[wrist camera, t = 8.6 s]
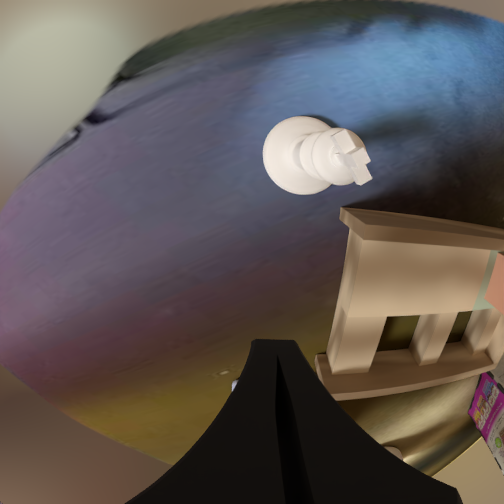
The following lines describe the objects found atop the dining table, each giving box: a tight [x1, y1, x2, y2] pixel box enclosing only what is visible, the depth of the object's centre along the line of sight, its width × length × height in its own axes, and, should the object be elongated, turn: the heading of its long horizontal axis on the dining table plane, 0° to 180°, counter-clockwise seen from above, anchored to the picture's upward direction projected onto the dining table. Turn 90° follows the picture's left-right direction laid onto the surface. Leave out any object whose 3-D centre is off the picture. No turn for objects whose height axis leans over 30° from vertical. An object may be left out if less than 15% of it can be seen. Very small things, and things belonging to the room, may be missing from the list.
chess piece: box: [263, 116, 372, 195], centre depth 12 cm, size 5×5×10 cm
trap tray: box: [315, 207, 504, 401], centre depth 17 cm, size 13×19×4 cm
